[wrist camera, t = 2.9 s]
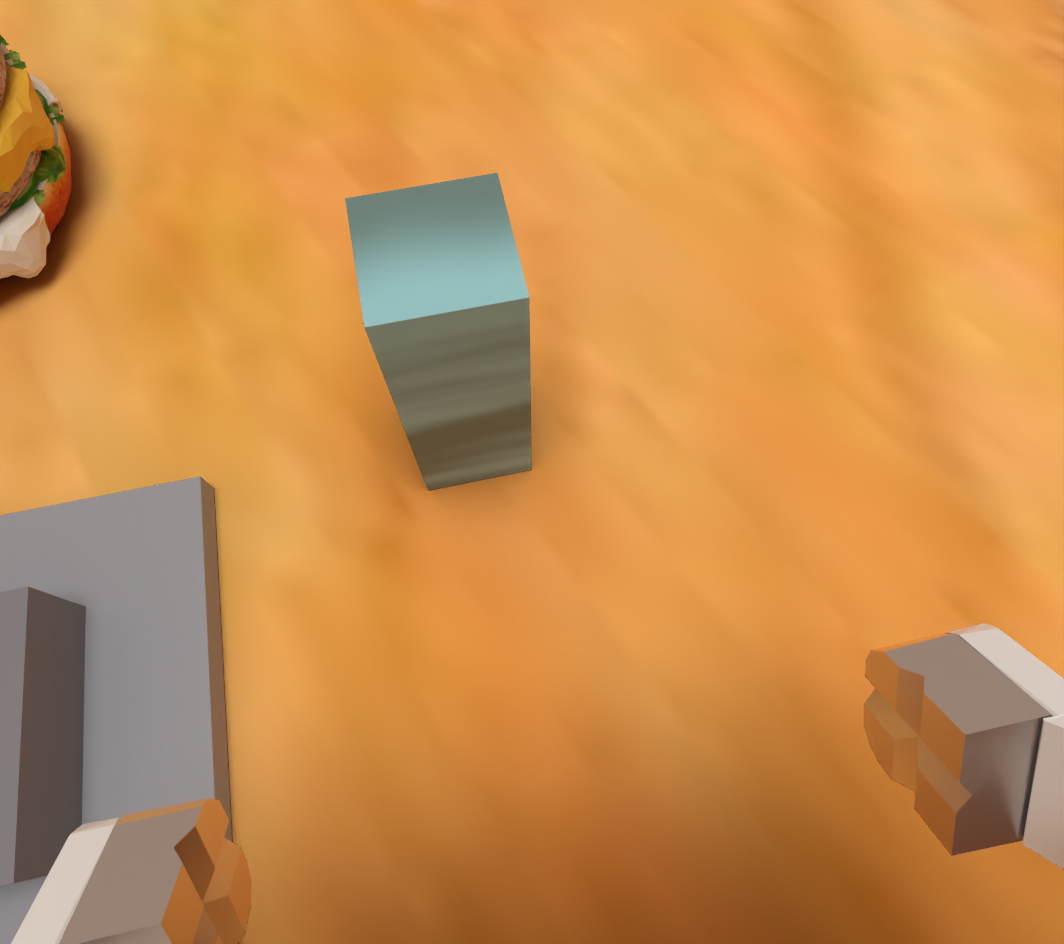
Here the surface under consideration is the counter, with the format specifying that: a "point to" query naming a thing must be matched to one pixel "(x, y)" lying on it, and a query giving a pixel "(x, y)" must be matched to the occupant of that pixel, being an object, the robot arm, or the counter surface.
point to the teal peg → (448, 324)
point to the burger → (29, 167)
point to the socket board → (106, 671)
